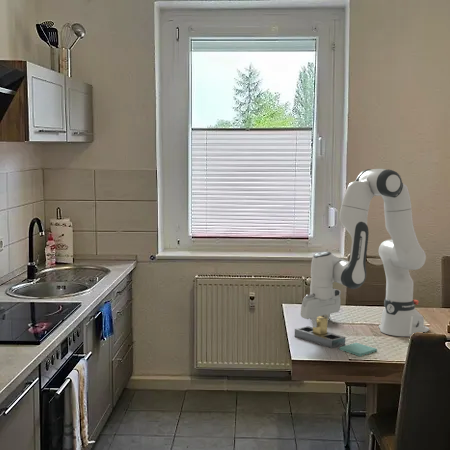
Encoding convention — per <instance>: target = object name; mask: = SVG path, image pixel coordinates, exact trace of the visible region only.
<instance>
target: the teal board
mask: <svg viewBox="0 0 450 450" xmlns="http://www.w3.org/2000/svg"><path fill="white" fill-rule="evenodd" d="M342 350H343V352H345V351H346V352H345V353H348V352H349V354H351V353H352V354H351V355H354V354H355V355H356V356H358V357H362V355H363V356H366V355H369V353H370V354H373V353H376V352H378V349H377V348H375V347H371V346H368V345H365V344H362V343H360V342H353V343H350V344H345V345H342V346H339V351H342ZM375 351H376V352H375ZM372 352H373V353H372ZM365 354H366V355H365Z"/></svg>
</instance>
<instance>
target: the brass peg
mask: <svg viewBox="0 0 450 450" xmlns="http://www.w3.org/2000/svg"><path fill="white" fill-rule="evenodd" d="M316 321H317V323H319V325H318V327H316V328H315V327H313V326H312V327H313V334H316V335H320V336H321V335H325V334H327V332H328V324H327V318H325V317H322V316H319V317H317V319H316Z"/></svg>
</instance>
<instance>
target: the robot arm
mask: <svg viewBox="0 0 450 450" xmlns="http://www.w3.org/2000/svg"><path fill="white" fill-rule="evenodd" d="M374 196H375V197H381V198H382V200H383V212H384V213H383V214H384V222H385V223H384V225H385V230H386V231H387V233H388V234H389V236H390V239H386V240H384V241H382V242H381V243H380V245H379V247H378V255H379V257H380V259H381V262H382V264H383V265H382V266H383V270H384V273H385V281H386V283H385V298H384V301H383V306H384V308H383V309H382V313H381V320H380V324H378V328H379V329H380V330H379V331H380V332H381V333H382V334H386V335H388V336H389V335H390V336H393V337H410V336H411V335H412V334H413V333H416V332H425V333H427V332H428V331H430V327H428V326H426V325H424V324H425V319H424V316H423V315H422V314H421V313H420V312H419V311H418V310H417V309H416V305H419V303H420V301H419V300H418V299H413V298H414V279H413V278H412V277H411V273H410V271H415V270H416V271H417V270H419V269H421V268H422V267H423V266H424V265H425V263H426V260H427V254H426V251H424V249H423V247H422V246H421V244H420V243H419V240H418V238H417V234H416V230H415V227H414V222H413V210H412V208H413V207H412V201H411V200H412V199H411V195H410V192H409V188H408V185H406V184H405V183H403V180H402V177H401V175H400V173H398V172H397V171H395V170H394V169H393V170H392V169H385V168H373V169H371V168H368V169H364V170H362V171H361V172H360V173H359V174H358V175H357V176H356V179H355V180H354V181H351V182H350V183H349V184H348V185H347V187H346V190H345V192H344V195H343V198H342V201H341V205H340V210H339V222H340V224H341V226H342V227H343V228H344V229H345V230H346V231H347V232H348V234H349V235H350V237H351V247H350V257H349V260H347V259H343V258H340V257H337V256H336V255H334V254H333V253H332V252H330V251H320V252H316V253H315V254H313V256H312V259H311V262H310V277H311V280H310V286H309V287H310V288H309V289H310V290H309V291H310V292H309V294H306V295H305V296H304V298H302V302H301V307H300V308H301V309H300V317H301V318H302V319H306V320H311V323H312V327H315V328H316V327H318V325H319V323H317V321H316V319H317V317H319V316H323V315H324V317H325V318H327V325H328V323H329V319H330V318H331V314H335V313H338V312H340V310H341V294H342V291H341V290H340V289H338V288H337V289H336V288H334V287H333V283H337V284H340V285H342V286H345V287H346V288H348V289H351V290H355V289H356V290H357V289H359V288H360V287H361V286H363V284H364V283H365V281H366V279H367V268H366V267H367V266H366V261H367V252H368V244H369V234H370V233H369V227H368V216H369V215H368V214H369V210H370V205H371V201H372V199H373V198H375V197H374ZM310 318H311V319H310ZM410 338H411V337H410Z"/></svg>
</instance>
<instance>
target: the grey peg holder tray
mask: <svg viewBox="0 0 450 450" xmlns="http://www.w3.org/2000/svg"><path fill="white" fill-rule="evenodd" d="M295 337H296V338H298V339H301V340H304V341H308V342H310V343H315V344H317V345H321V346H324V347H326V348H330V349H334V347H335V348H338V347H342V346H346V336H343V335H340V334H335V333H332V332H329V331H327V334H325V335H321V336H320V335H316V334H313V326H309V325H307V326H303V327H299V328H294V338H295ZM341 345H342V346H341Z"/></svg>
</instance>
